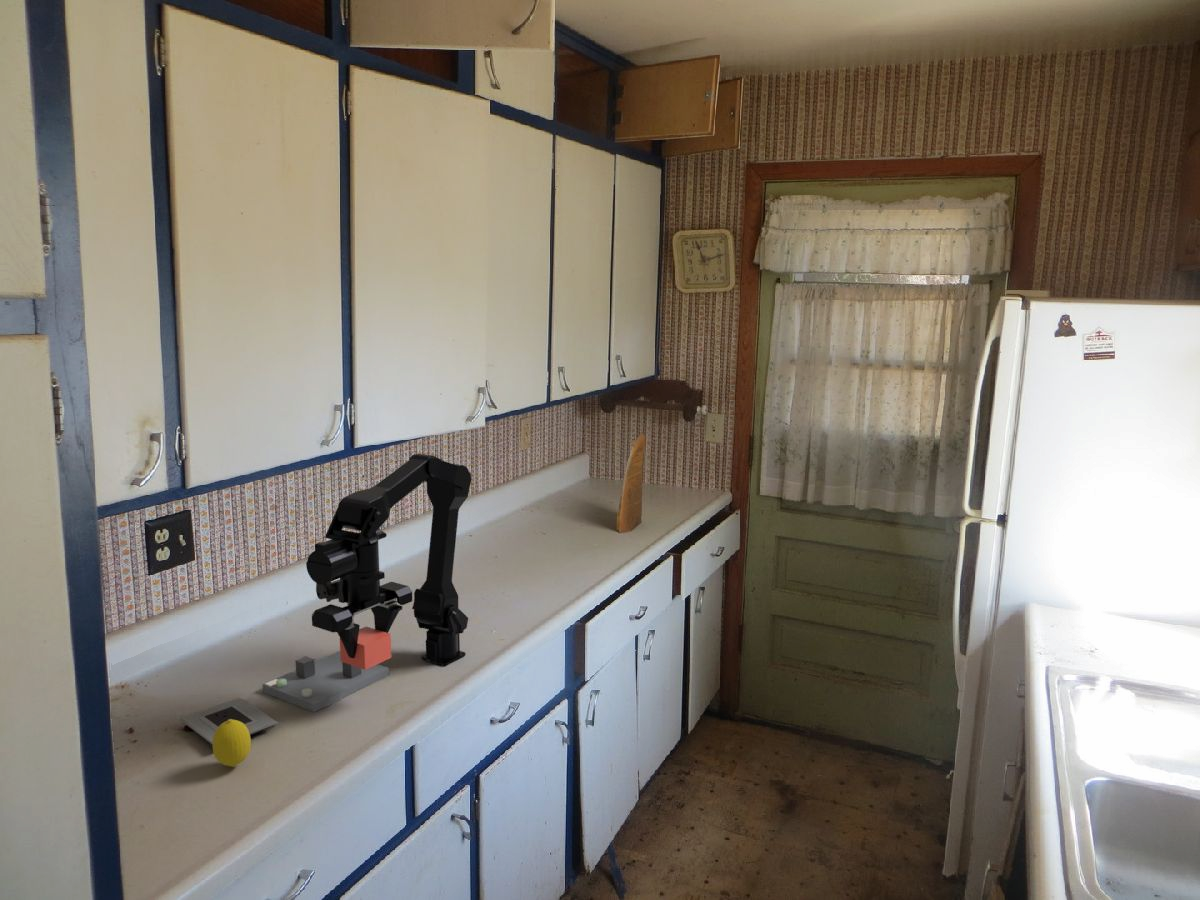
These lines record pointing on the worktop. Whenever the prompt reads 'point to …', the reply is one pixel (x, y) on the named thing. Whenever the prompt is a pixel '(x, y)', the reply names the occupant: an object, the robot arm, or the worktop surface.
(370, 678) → the panel
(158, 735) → the worktop surface
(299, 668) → the dark gray block
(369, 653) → the cap
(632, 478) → the wooden fin shape
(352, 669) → the dark grey small block
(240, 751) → the lemon
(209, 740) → the electrical outlet
